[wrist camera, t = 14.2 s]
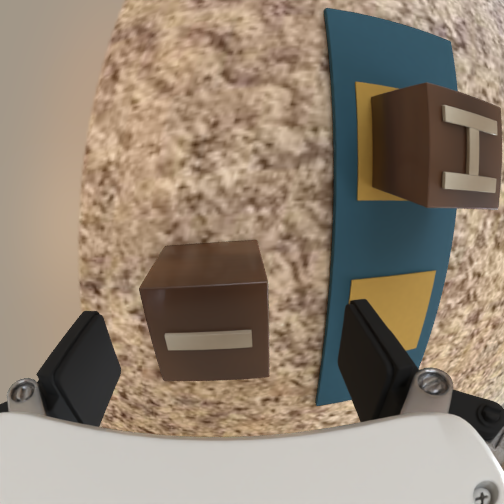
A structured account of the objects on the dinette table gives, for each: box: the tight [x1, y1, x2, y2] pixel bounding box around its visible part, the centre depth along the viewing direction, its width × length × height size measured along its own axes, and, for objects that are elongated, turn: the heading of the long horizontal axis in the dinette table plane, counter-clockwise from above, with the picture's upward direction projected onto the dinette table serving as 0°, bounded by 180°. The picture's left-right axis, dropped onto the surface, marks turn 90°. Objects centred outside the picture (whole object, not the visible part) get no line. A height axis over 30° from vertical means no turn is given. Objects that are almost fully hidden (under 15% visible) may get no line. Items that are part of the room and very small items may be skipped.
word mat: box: [315, 8, 458, 406], centre depth 14 cm, size 8×24×1 cm, turn 2°
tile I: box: [139, 240, 269, 381], centre depth 13 cm, size 4×4×5 cm
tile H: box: [371, 82, 502, 210], centre depth 10 cm, size 4×4×5 cm
